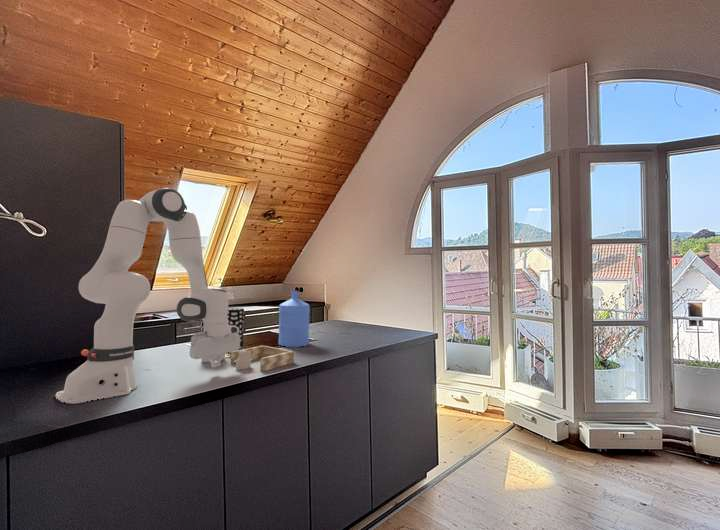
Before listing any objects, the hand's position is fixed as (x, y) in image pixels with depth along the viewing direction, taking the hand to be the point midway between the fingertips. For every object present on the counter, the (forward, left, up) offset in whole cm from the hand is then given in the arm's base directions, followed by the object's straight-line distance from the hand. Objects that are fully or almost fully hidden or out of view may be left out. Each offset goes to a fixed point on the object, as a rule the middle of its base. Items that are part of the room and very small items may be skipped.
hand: (215, 366), depth 159 cm
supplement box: (+13, +19, -3) cm, 24 cm away
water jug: (+60, +17, -3) cm, 63 cm away
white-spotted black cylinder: (+31, +28, -3) cm, 42 cm away
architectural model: (+12, -1, -4) cm, 13 cm away
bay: (+22, -1, -3) cm, 23 cm away
